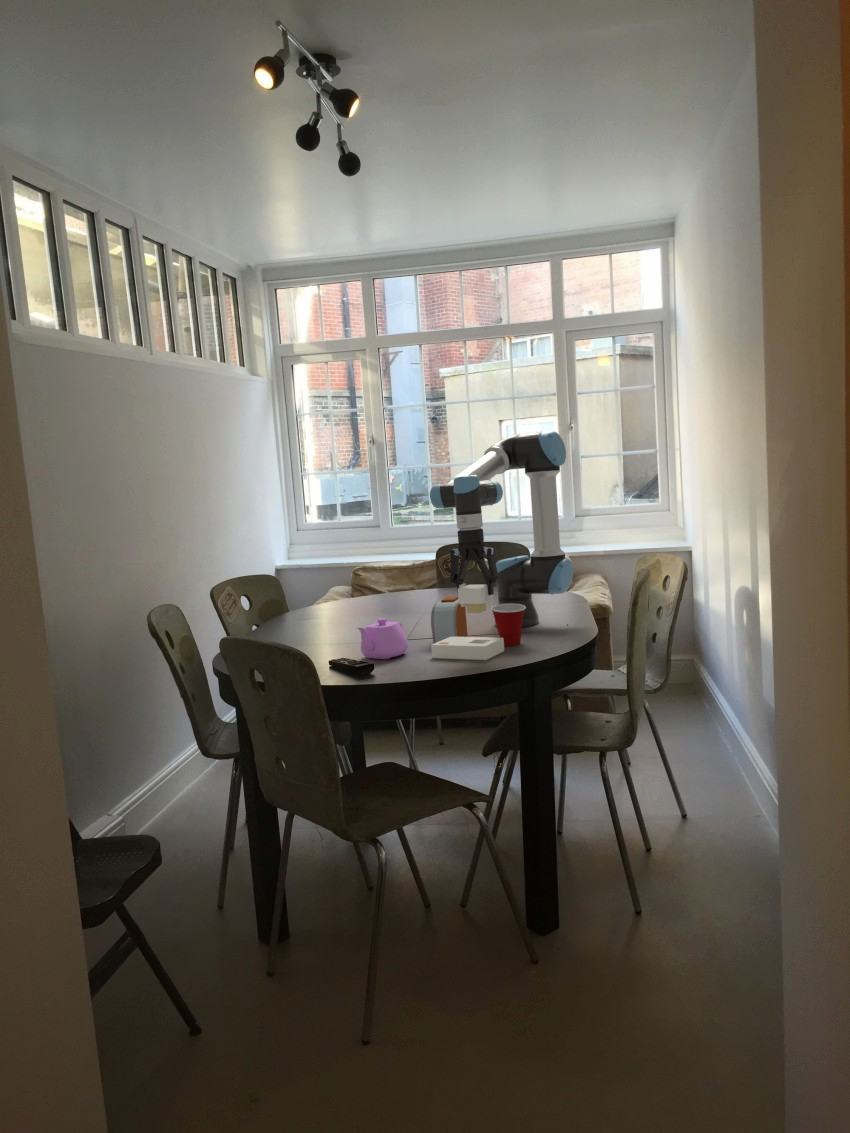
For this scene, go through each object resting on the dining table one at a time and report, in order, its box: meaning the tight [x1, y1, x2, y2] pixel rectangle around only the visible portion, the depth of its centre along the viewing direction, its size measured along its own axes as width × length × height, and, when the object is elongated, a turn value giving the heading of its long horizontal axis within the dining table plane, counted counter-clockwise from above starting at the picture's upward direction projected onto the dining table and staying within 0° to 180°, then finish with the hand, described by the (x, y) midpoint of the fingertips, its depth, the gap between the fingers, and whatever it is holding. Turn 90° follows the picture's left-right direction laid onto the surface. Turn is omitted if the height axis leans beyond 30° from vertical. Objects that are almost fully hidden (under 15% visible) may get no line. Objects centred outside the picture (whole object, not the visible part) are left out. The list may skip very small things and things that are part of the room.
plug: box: [457, 583, 494, 614], centre depth 262 cm, size 8×8×8 cm
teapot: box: [357, 617, 409, 661], centre depth 273 cm, size 20×13×12 cm, turn 142°
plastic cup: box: [490, 604, 526, 647], centre depth 275 cm, size 11×11×12 cm
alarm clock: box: [430, 596, 469, 644], centre depth 289 cm, size 15×8×14 cm, turn 164°
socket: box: [430, 636, 505, 661], centre depth 266 cm, size 12×18×4 cm, turn 59°
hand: (476, 606), depth 263 cm, fingers closed on plug, 7 cm apart
